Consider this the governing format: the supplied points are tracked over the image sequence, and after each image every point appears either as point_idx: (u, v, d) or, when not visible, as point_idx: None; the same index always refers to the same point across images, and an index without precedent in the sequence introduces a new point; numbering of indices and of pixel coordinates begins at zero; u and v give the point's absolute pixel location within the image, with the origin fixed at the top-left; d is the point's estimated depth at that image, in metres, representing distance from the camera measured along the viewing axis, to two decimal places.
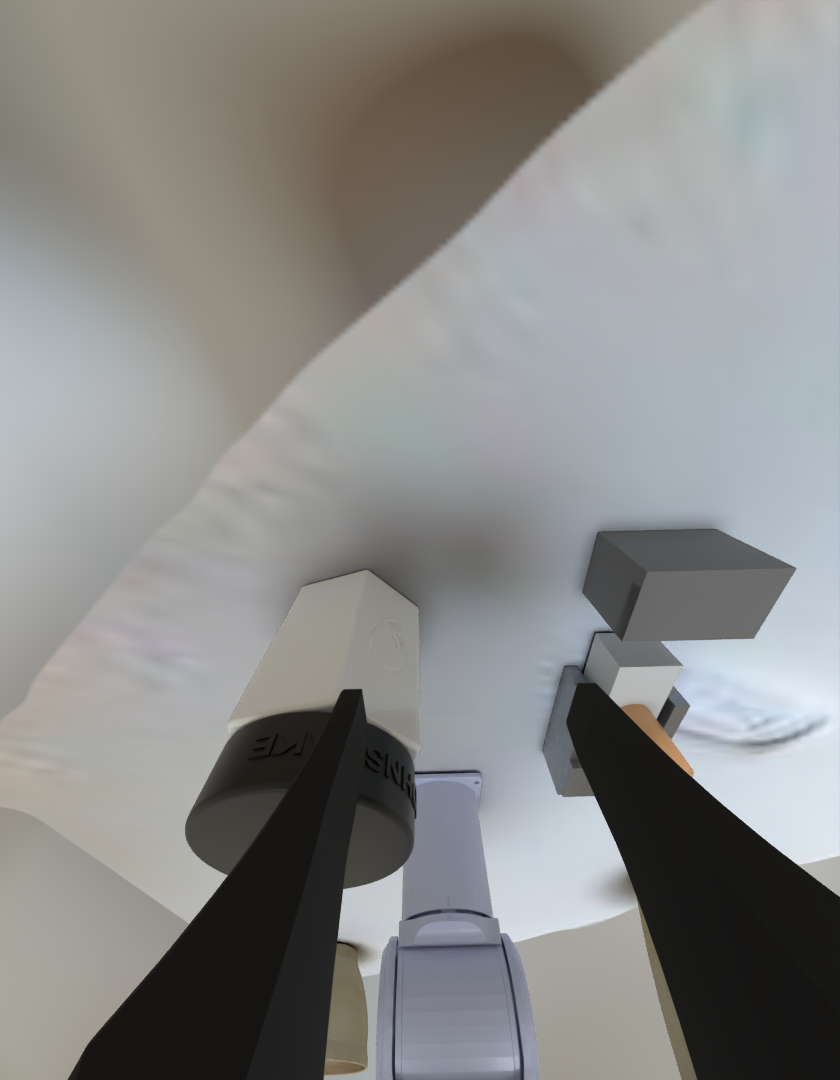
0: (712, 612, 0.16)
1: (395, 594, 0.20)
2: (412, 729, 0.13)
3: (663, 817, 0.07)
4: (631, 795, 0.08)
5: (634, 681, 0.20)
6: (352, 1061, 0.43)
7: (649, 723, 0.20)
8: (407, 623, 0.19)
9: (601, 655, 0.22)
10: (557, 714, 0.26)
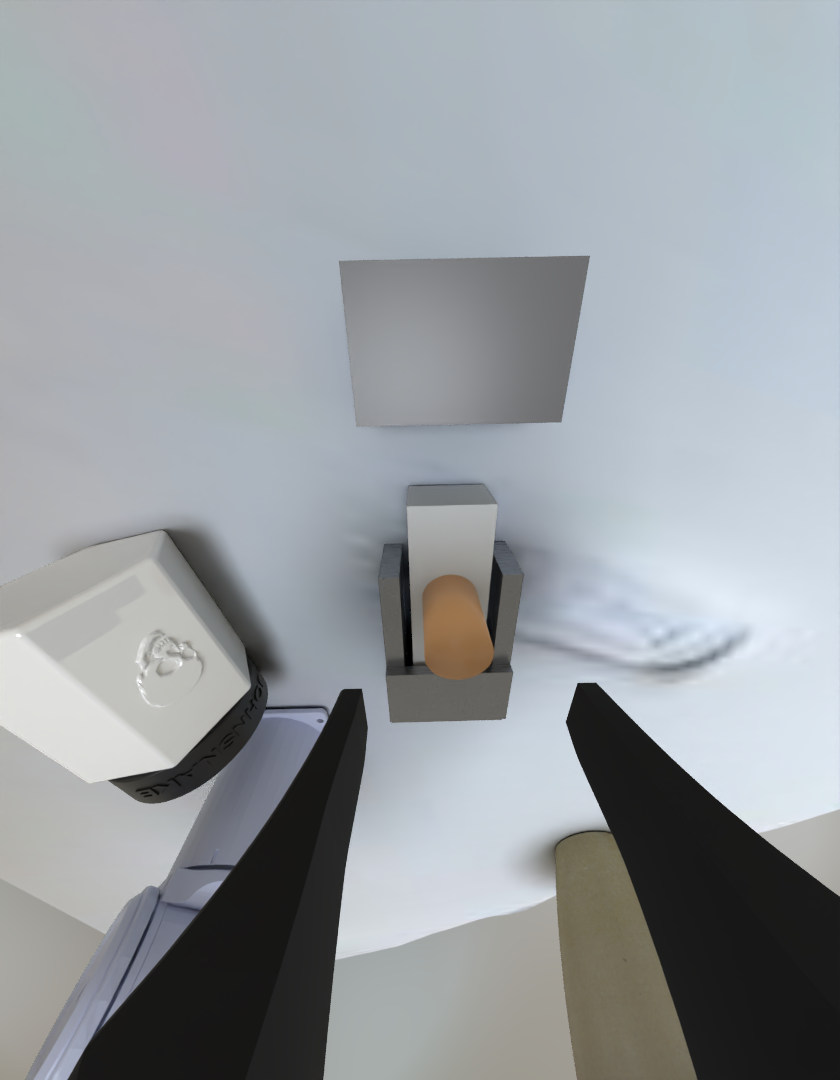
0: (479, 361, 0.10)
1: (108, 598, 0.13)
2: (239, 688, 0.18)
3: (663, 817, 0.07)
4: (631, 795, 0.08)
5: (436, 533, 0.14)
6: None
7: (454, 591, 0.14)
8: (164, 613, 0.14)
9: None
10: None
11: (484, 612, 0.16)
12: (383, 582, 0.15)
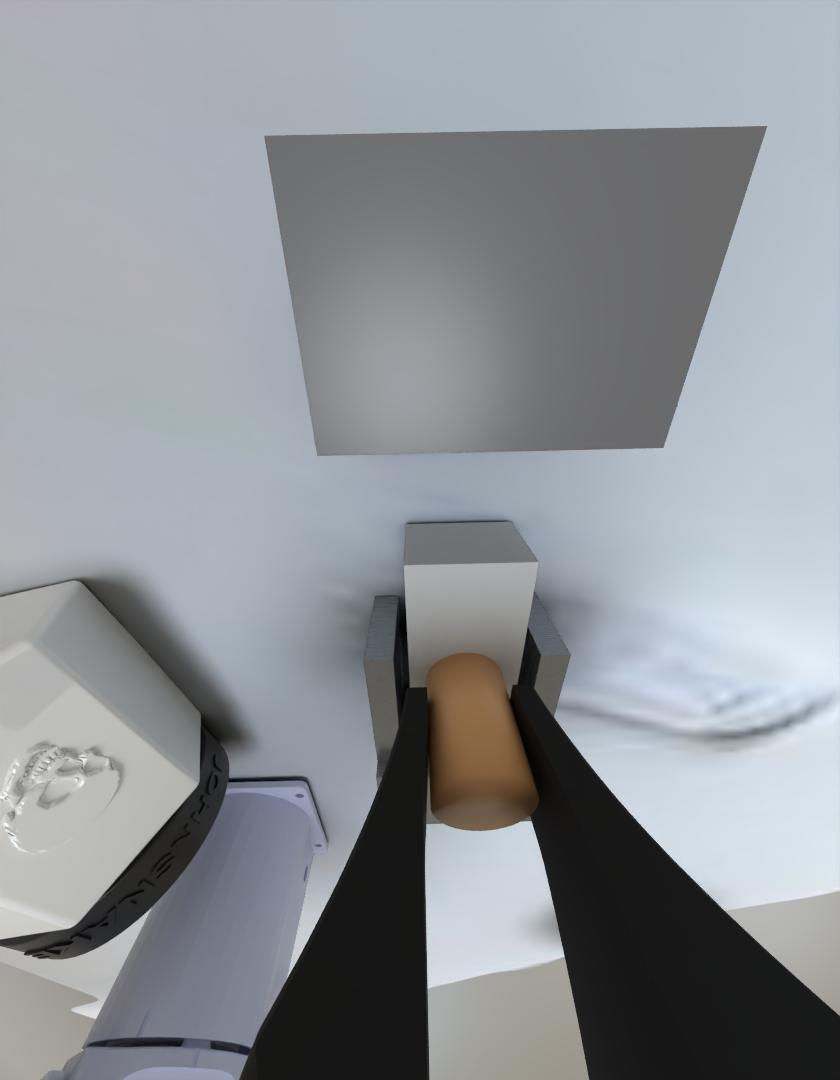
0: (533, 343, 0.06)
1: None
2: (181, 790, 0.13)
3: (567, 819, 0.07)
4: (547, 796, 0.08)
5: (447, 600, 0.10)
6: None
7: (474, 686, 0.10)
8: (52, 716, 0.10)
9: None
10: None
11: None
12: (371, 665, 0.11)
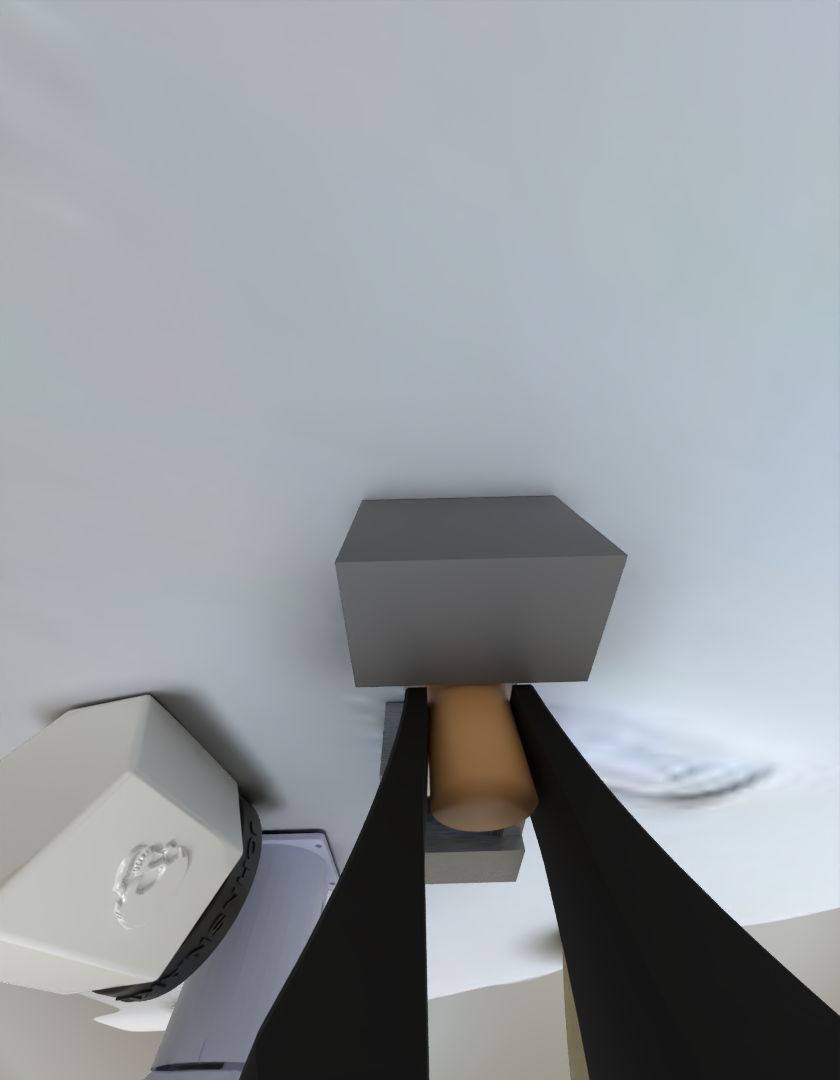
0: (496, 637, 0.09)
1: (79, 839, 0.11)
2: (230, 861, 0.16)
3: (567, 820, 0.07)
4: (547, 797, 0.08)
5: None
6: None
7: (473, 688, 0.10)
8: (145, 823, 0.13)
9: None
10: None
11: None
12: None
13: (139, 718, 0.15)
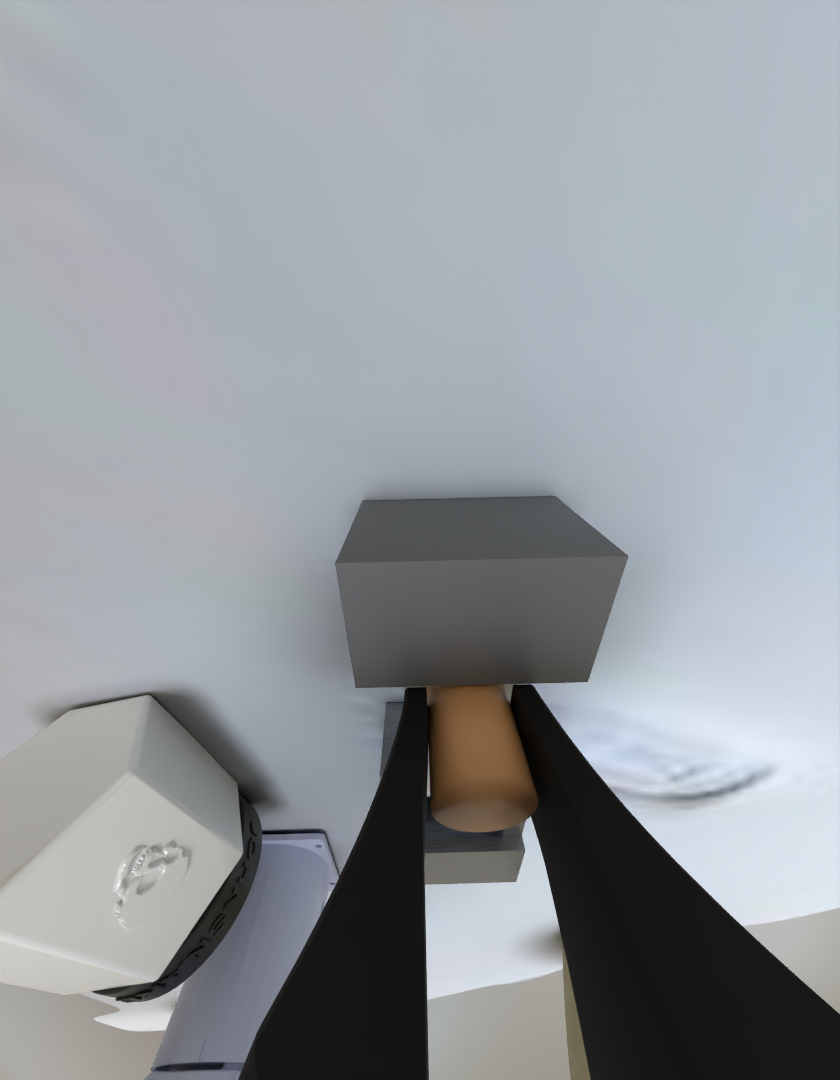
0: (497, 638, 0.09)
1: (80, 839, 0.11)
2: (230, 861, 0.16)
3: (568, 819, 0.07)
4: (548, 796, 0.08)
5: None
6: None
7: (473, 688, 0.10)
8: (145, 824, 0.13)
9: None
10: None
11: (510, 699, 0.12)
12: None
13: (139, 718, 0.15)
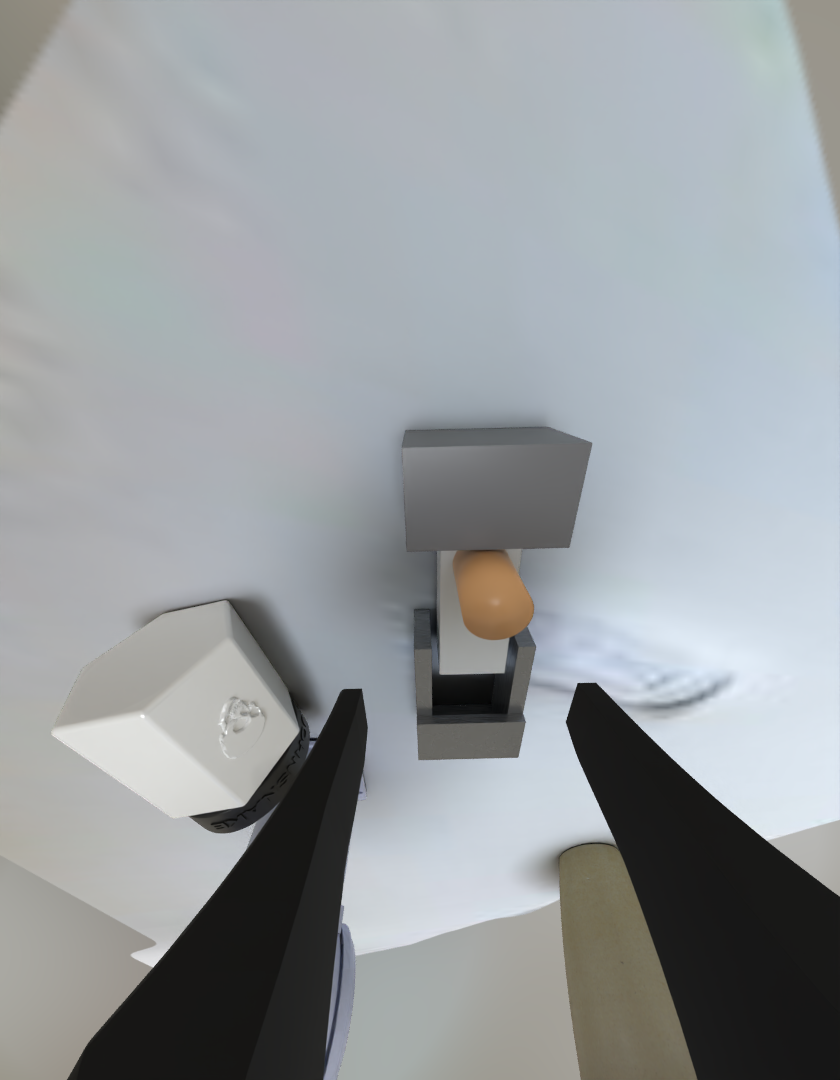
0: (506, 509, 0.13)
1: (200, 677, 0.16)
2: (291, 734, 0.21)
3: (663, 817, 0.07)
4: (631, 794, 0.08)
5: None
6: None
7: (489, 552, 0.14)
8: (238, 681, 0.17)
9: None
10: None
11: None
12: (418, 653, 0.18)
13: (225, 612, 0.19)
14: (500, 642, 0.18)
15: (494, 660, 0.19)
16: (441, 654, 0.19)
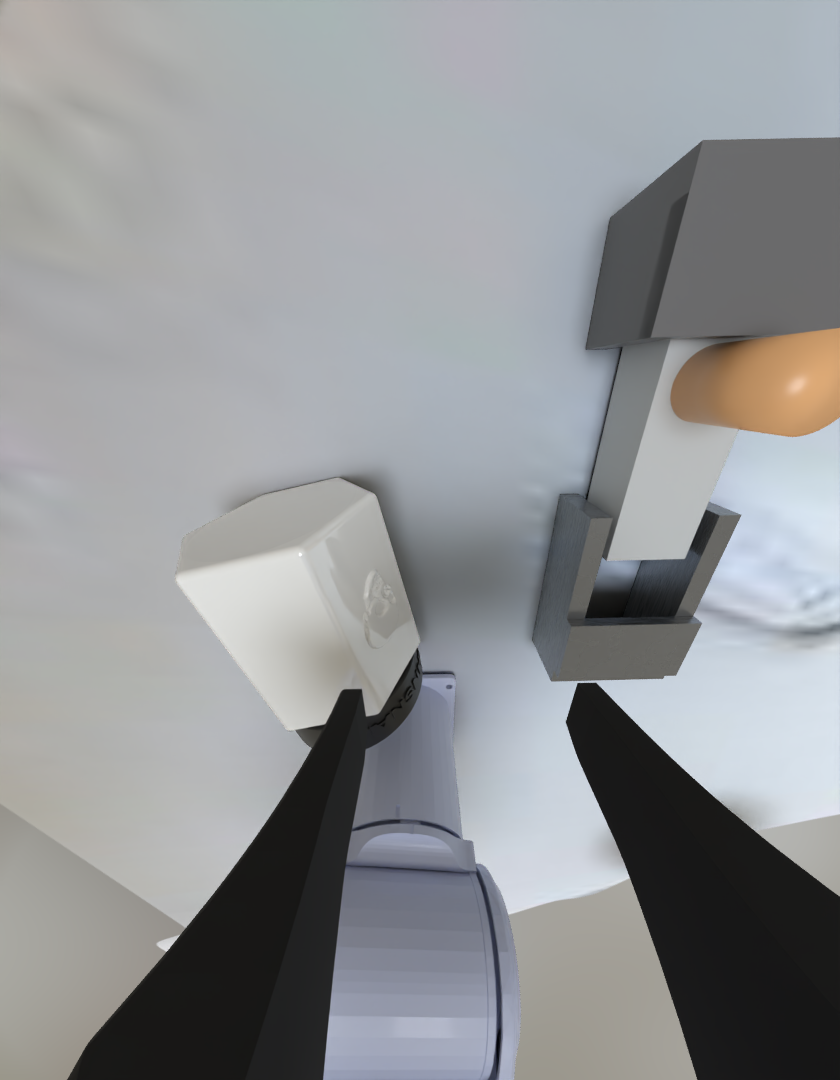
0: (806, 261, 0.10)
1: (351, 528, 0.12)
2: (415, 641, 0.17)
3: (663, 817, 0.07)
4: (631, 794, 0.08)
5: None
6: None
7: (759, 338, 0.10)
8: (379, 552, 0.14)
9: None
10: (550, 573, 0.19)
11: None
12: (594, 523, 0.15)
13: (347, 482, 0.16)
14: (694, 511, 0.15)
15: (678, 539, 0.15)
16: (617, 529, 0.15)
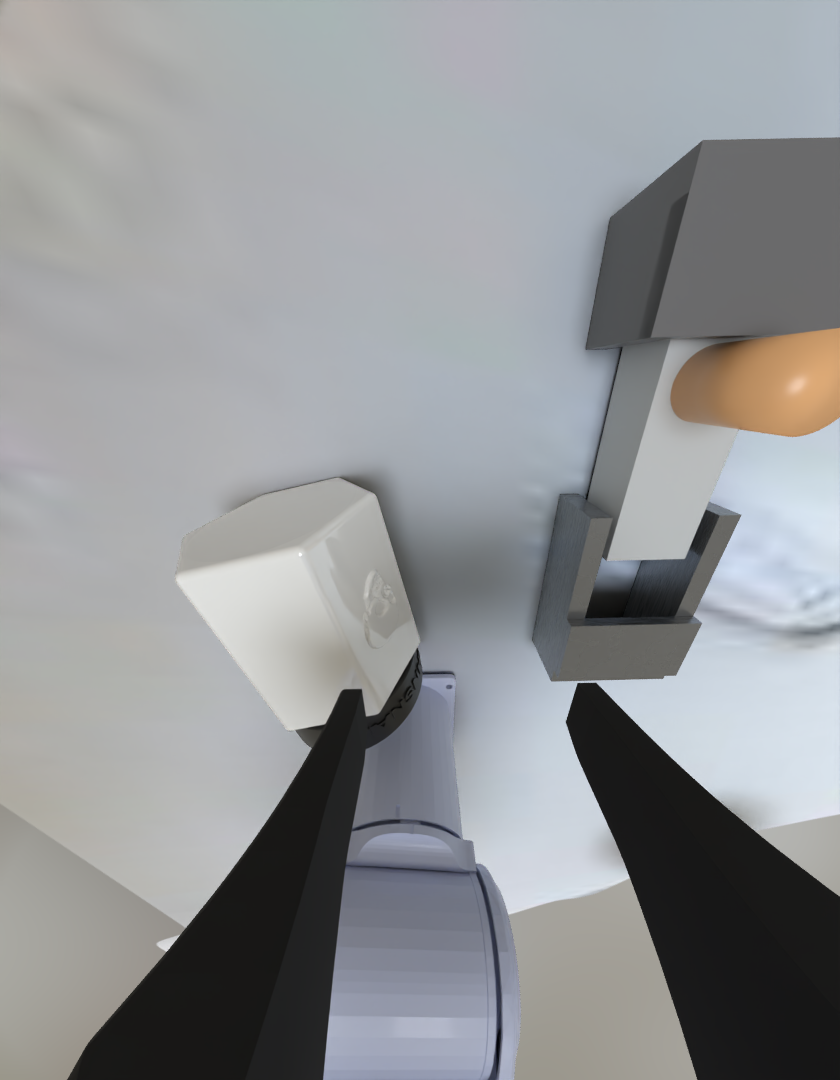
0: (806, 261, 0.10)
1: (351, 528, 0.12)
2: (415, 641, 0.17)
3: (663, 817, 0.07)
4: (631, 794, 0.08)
5: None
6: None
7: (759, 338, 0.10)
8: (379, 552, 0.14)
9: None
10: (550, 573, 0.19)
11: None
12: (594, 523, 0.15)
13: (347, 482, 0.16)
14: (694, 511, 0.15)
15: (678, 539, 0.15)
16: (617, 529, 0.15)
